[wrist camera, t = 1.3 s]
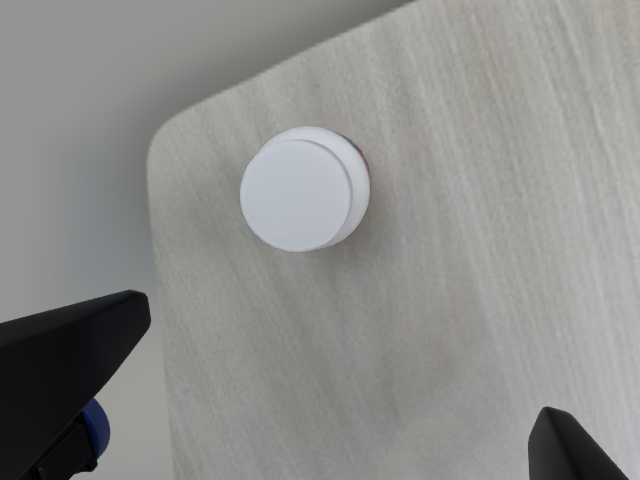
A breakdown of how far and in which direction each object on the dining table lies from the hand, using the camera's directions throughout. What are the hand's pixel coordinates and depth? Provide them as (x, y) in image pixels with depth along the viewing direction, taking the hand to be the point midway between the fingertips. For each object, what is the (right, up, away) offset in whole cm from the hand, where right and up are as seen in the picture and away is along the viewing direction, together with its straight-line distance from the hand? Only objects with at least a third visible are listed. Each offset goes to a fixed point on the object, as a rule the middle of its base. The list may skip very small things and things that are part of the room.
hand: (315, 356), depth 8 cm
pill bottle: (0, +6, +14) cm, 15 cm away
